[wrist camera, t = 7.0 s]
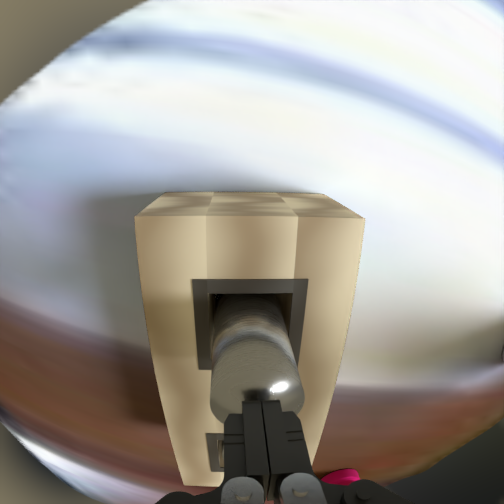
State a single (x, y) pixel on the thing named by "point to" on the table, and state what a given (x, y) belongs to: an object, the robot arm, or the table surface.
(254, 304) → the peg
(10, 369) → the table surface
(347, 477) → the pepper mill
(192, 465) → the collar block
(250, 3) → the table surface
